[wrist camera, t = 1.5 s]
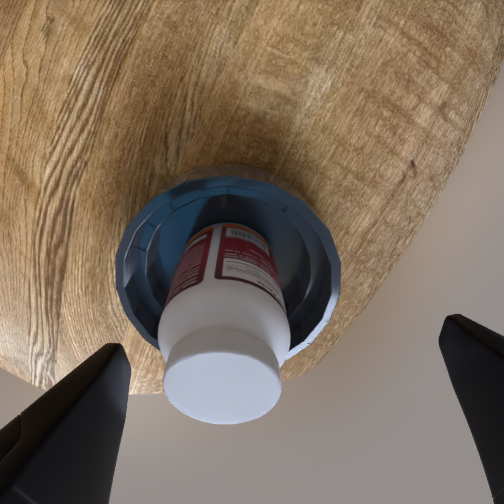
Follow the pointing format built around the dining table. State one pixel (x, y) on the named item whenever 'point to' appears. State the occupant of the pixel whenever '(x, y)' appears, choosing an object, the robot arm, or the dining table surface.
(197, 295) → the pill bottle
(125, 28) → the dining table surface
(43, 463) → the robot arm
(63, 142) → the dining table surface
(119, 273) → the bowl
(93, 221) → the dining table surface
